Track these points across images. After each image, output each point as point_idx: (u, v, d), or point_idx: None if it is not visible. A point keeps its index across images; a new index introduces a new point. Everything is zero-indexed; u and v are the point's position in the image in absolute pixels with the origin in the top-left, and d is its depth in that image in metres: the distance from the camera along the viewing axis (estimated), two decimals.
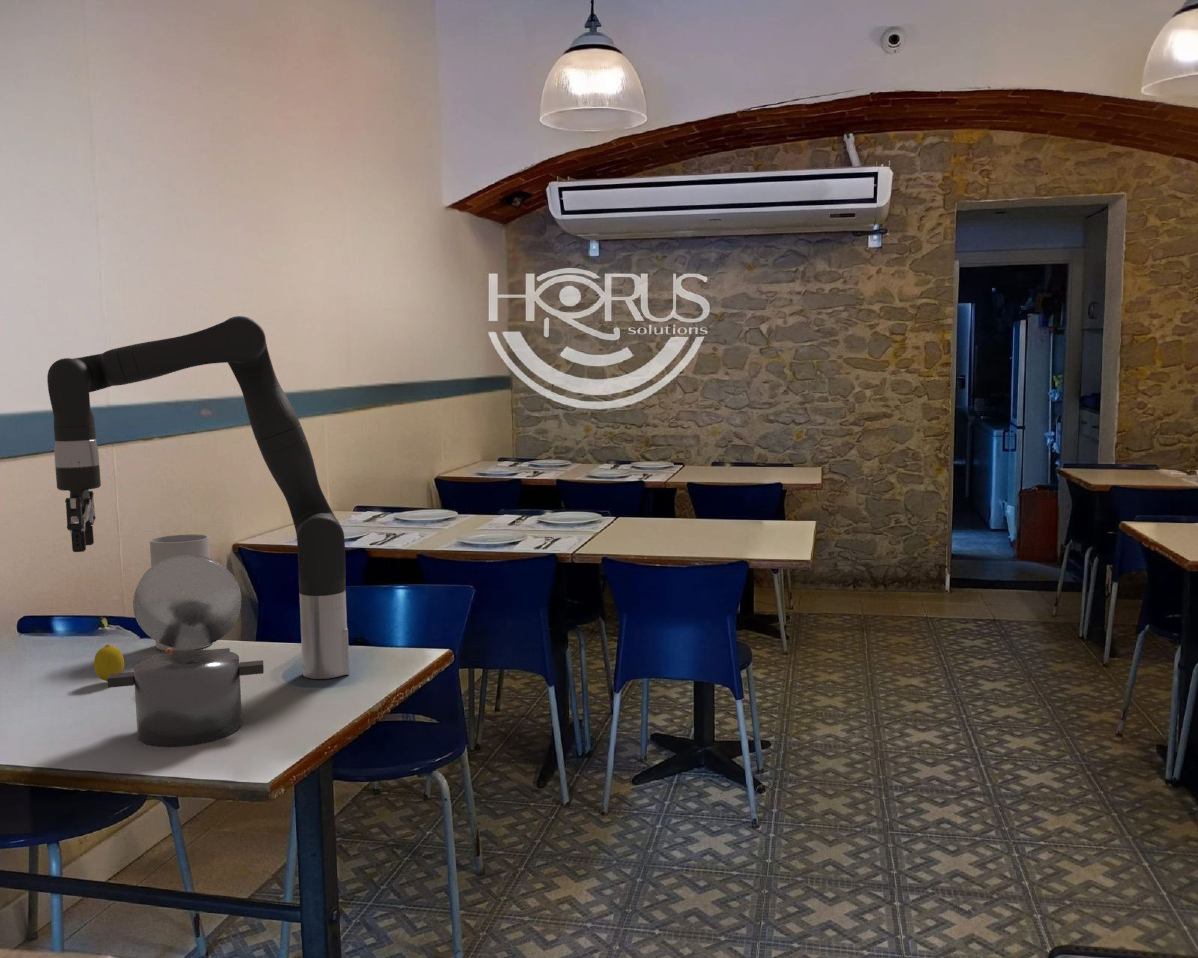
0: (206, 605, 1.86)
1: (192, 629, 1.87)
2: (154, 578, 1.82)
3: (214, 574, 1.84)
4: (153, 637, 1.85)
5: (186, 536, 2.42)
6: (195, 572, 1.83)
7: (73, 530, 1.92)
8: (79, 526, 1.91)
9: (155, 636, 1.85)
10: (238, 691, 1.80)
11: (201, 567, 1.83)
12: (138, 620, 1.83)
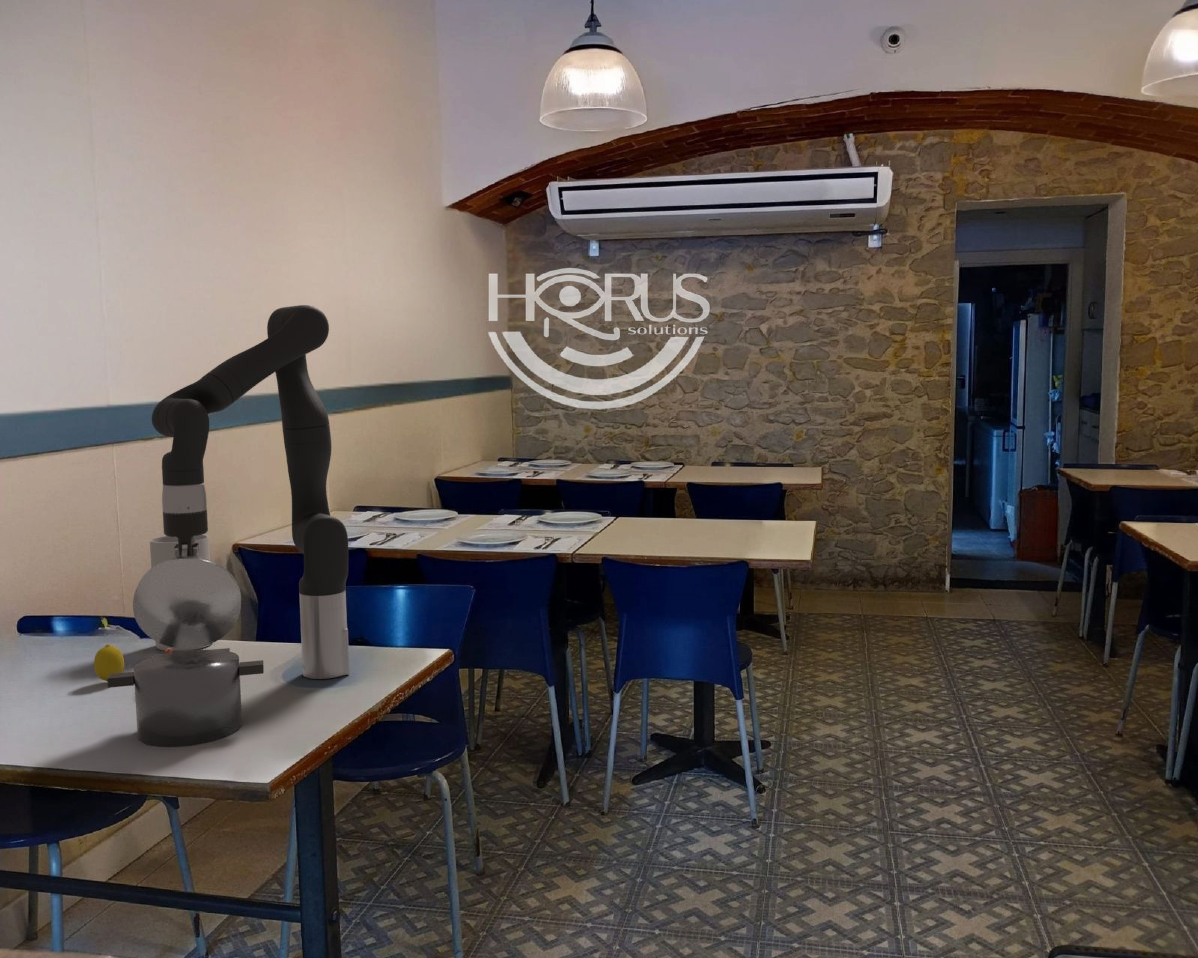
0: (206, 606, 1.86)
1: (192, 630, 1.87)
2: (154, 579, 1.81)
3: (214, 575, 1.84)
4: (153, 637, 1.85)
5: None
6: (195, 574, 1.83)
7: None
8: None
9: (155, 636, 1.85)
10: (238, 691, 1.80)
11: (201, 569, 1.83)
12: (138, 621, 1.83)
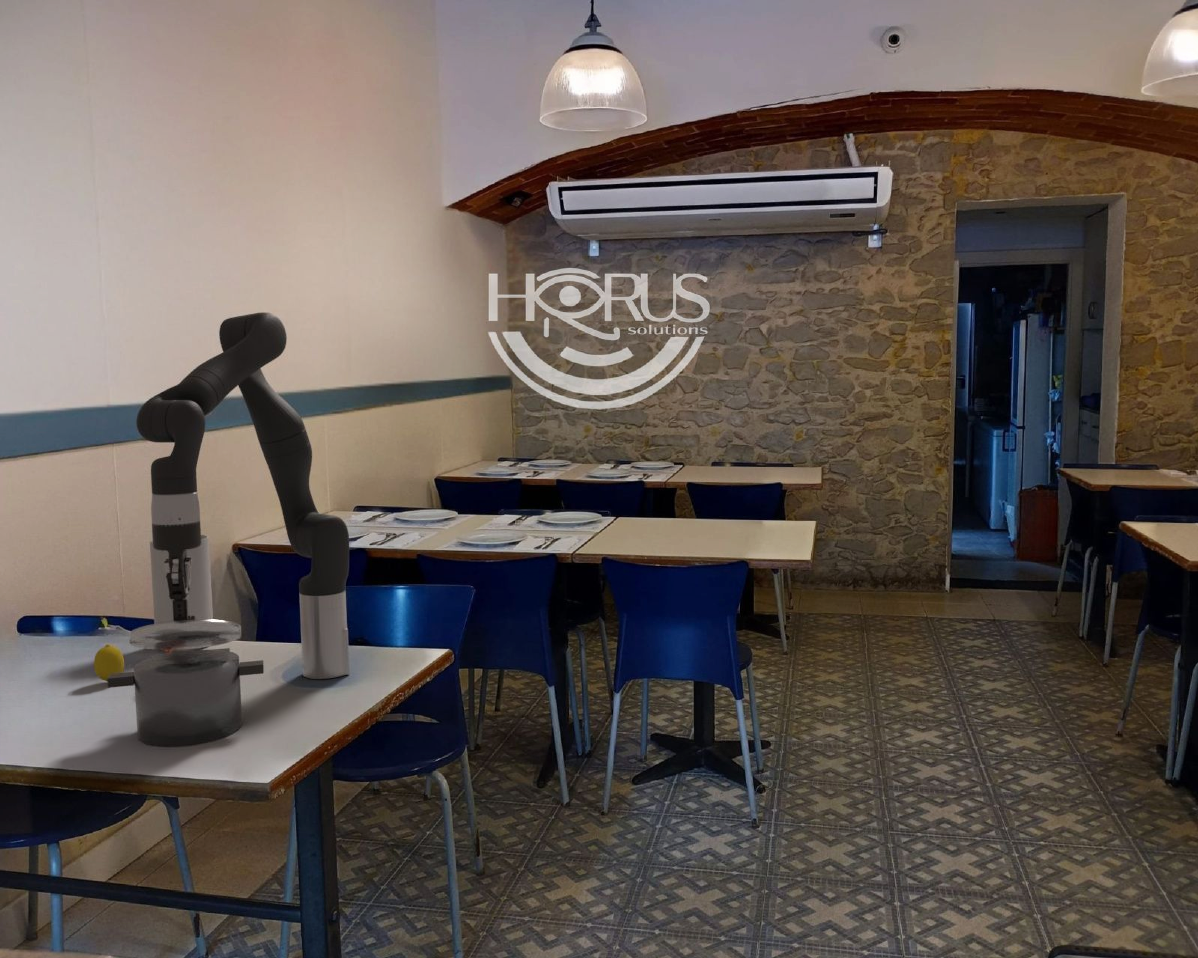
0: (205, 638, 1.81)
1: (191, 644, 1.85)
2: (150, 635, 1.73)
3: (213, 630, 1.76)
4: (152, 648, 1.84)
5: None
6: (193, 631, 1.75)
7: (176, 599, 1.72)
8: (183, 597, 1.71)
9: (154, 648, 1.84)
10: (238, 691, 1.80)
11: (199, 630, 1.74)
12: (136, 646, 1.80)
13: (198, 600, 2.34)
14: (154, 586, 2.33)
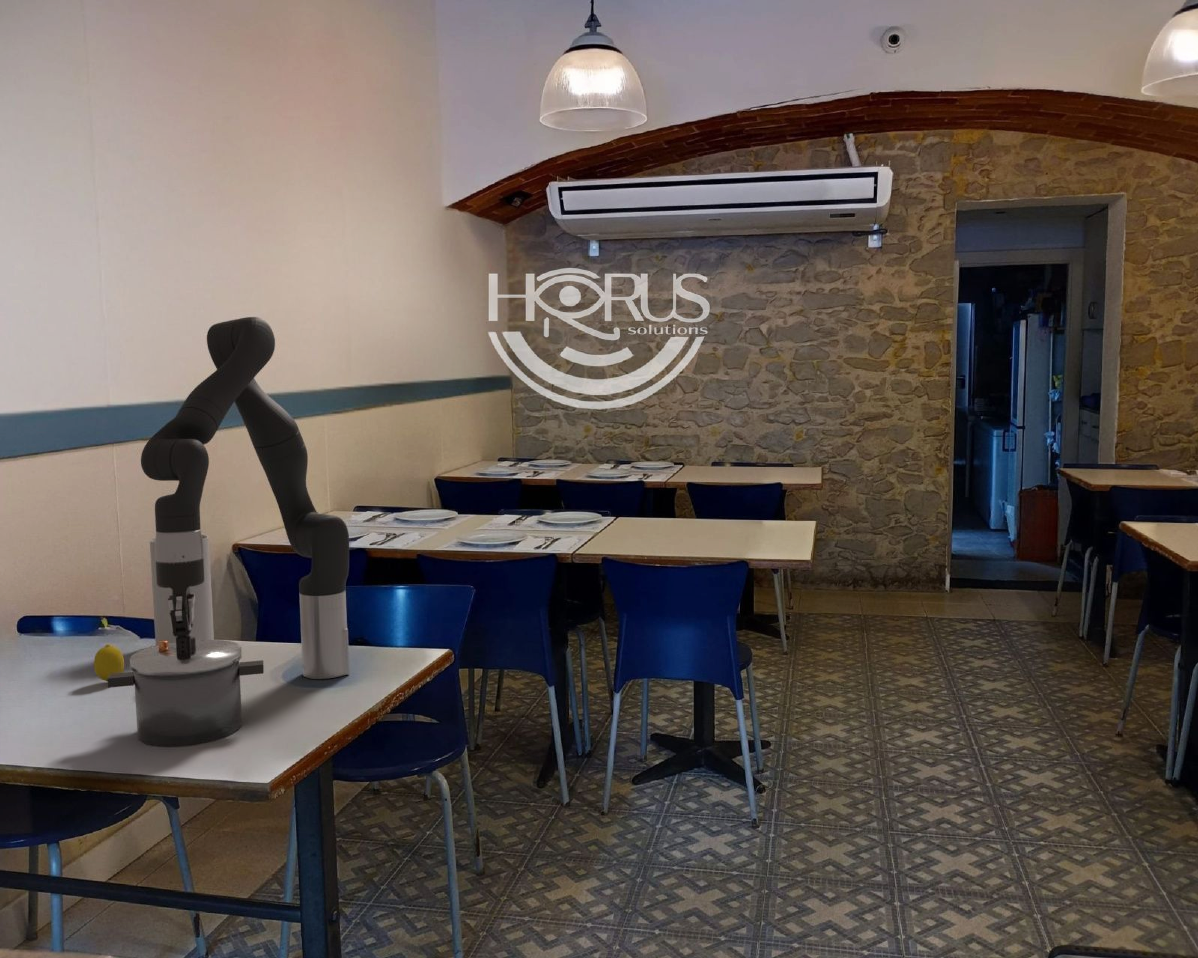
0: None
1: None
2: None
3: None
4: None
5: None
6: None
7: (179, 636, 1.73)
8: (186, 634, 1.73)
9: None
10: (238, 691, 1.80)
11: None
12: None
13: (198, 600, 2.34)
14: (154, 586, 2.33)
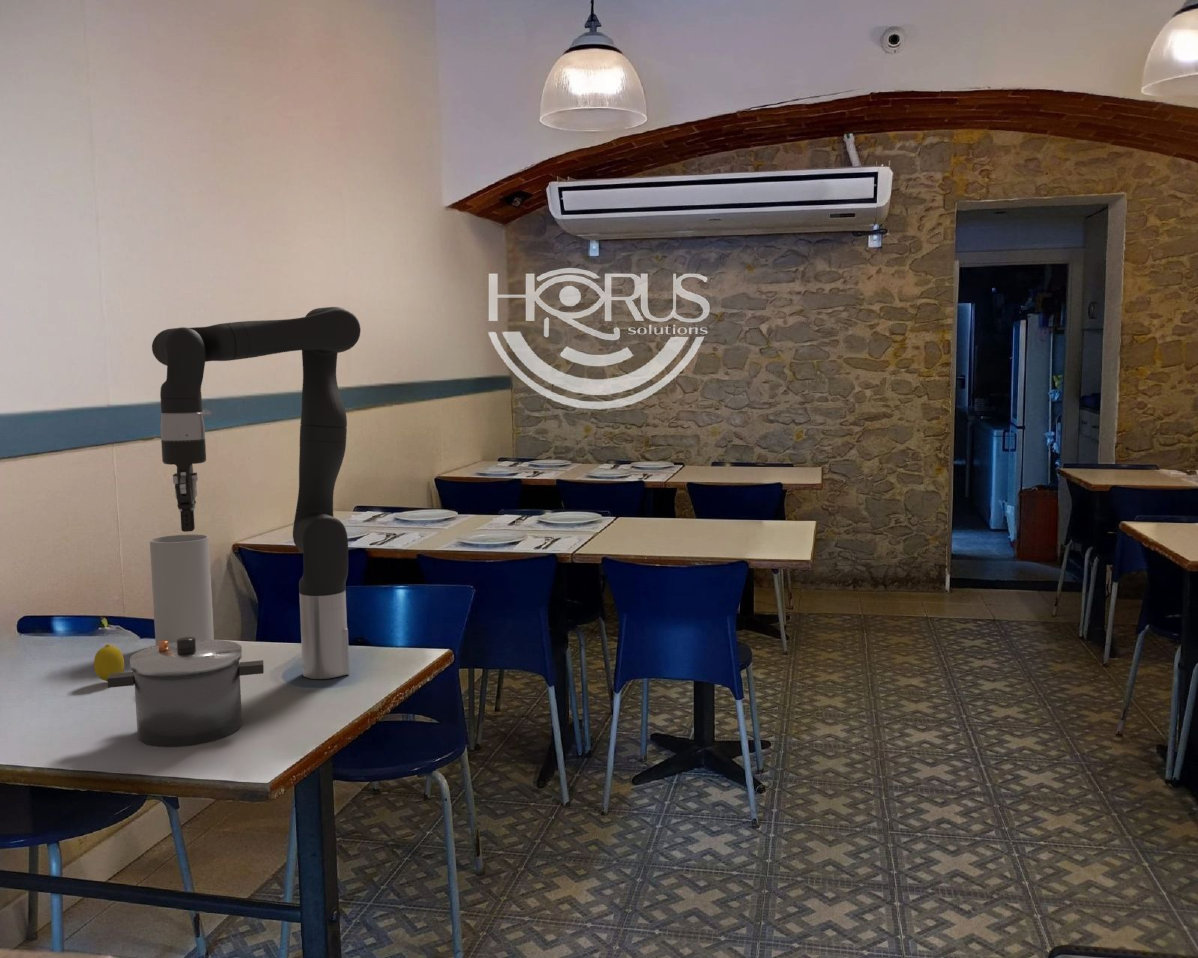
0: None
1: None
2: None
3: None
4: None
5: (186, 536, 2.42)
6: None
7: (183, 509, 1.89)
8: (190, 507, 1.89)
9: None
10: (238, 691, 1.80)
11: None
12: None
13: (198, 600, 2.34)
14: (154, 586, 2.33)
